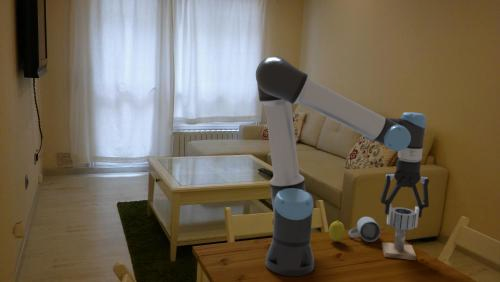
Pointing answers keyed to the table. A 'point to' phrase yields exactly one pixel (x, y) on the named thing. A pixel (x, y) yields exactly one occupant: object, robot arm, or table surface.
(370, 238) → the ceramic mug
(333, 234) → the lemon
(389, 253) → the shaft stand
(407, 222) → the ring
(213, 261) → the table surface
